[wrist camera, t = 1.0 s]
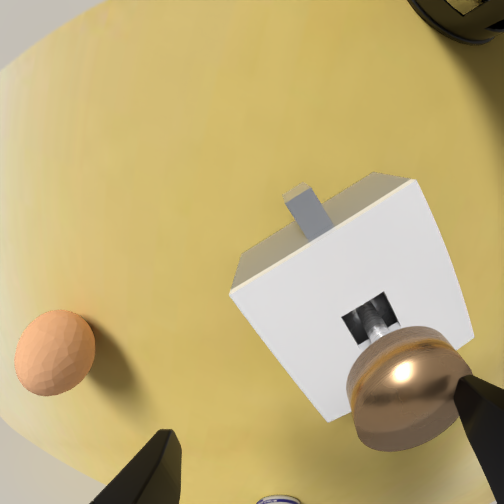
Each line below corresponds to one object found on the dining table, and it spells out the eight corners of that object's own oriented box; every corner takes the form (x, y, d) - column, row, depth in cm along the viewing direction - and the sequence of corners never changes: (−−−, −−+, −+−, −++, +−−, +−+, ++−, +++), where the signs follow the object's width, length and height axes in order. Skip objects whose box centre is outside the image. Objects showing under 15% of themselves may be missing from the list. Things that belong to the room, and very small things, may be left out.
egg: (90, 366, 25) (44, 426, 17) (45, 320, 24) (-11, 369, 16) (122, 333, 24) (72, 399, 16) (71, 281, 23) (6, 330, 15)
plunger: (417, 314, 17) (489, 408, 9) (341, 359, 18) (373, 473, 10) (382, 240, 16) (468, 314, 8) (297, 291, 17) (316, 403, 9)
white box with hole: (430, 293, 21) (474, 337, 15) (316, 361, 23) (327, 422, 17) (357, 144, 19) (395, 140, 12) (224, 228, 21) (203, 259, 14)
